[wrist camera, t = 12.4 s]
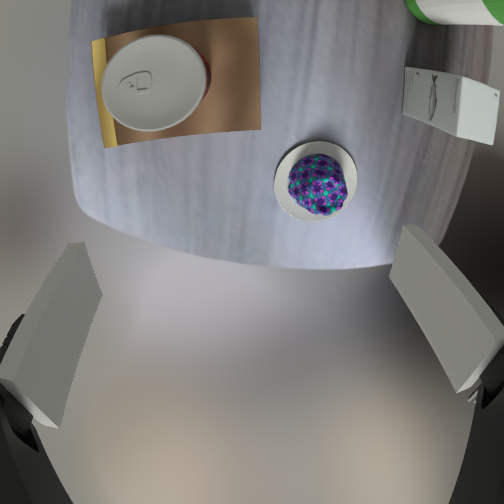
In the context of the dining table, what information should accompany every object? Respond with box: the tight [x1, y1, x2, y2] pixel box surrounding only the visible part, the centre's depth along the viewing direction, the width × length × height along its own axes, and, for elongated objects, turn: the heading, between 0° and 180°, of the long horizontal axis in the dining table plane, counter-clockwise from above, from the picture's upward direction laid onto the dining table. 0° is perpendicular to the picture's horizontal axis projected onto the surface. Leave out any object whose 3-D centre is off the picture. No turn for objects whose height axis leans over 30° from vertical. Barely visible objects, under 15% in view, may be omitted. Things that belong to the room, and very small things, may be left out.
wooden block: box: [91, 17, 261, 148], centre depth 29 cm, size 18×13×5 cm
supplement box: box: [402, 67, 500, 145], centre depth 29 cm, size 7×7×13 cm
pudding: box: [274, 141, 357, 222], centre depth 39 cm, size 12×12×5 cm
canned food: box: [101, 35, 212, 131], centre depth 23 cm, size 8×8×11 cm
